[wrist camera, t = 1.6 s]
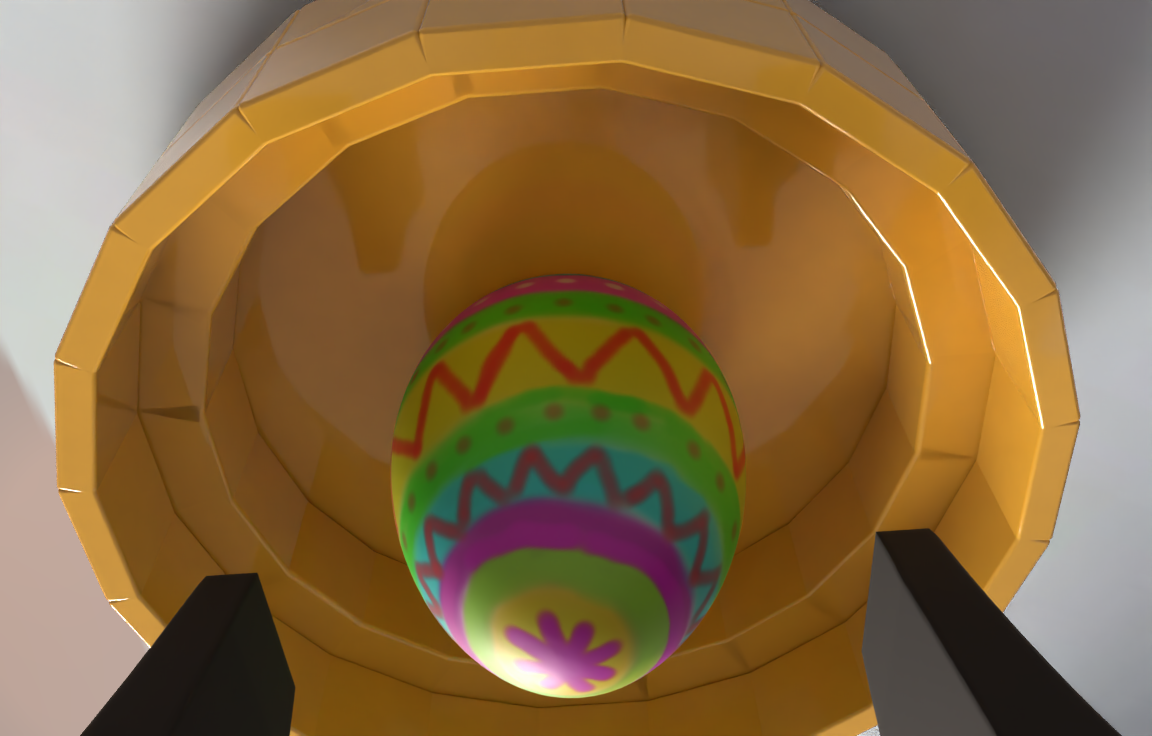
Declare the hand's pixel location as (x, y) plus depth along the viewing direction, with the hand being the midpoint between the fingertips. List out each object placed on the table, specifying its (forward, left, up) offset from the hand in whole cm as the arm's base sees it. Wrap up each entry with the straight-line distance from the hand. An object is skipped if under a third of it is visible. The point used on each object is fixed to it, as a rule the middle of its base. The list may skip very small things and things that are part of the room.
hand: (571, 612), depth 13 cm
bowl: (0, 0, -6) cm, 6 cm away
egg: (0, 0, -5) cm, 5 cm away
